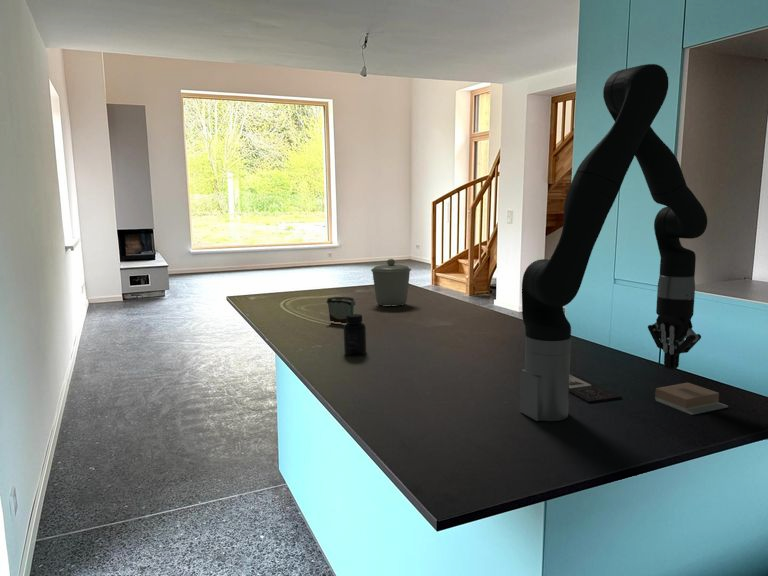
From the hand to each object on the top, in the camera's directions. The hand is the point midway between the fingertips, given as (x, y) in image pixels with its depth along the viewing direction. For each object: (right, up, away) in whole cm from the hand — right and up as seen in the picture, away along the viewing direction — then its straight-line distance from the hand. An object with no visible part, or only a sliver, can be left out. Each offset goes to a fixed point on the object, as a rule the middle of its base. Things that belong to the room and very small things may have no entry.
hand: (671, 368), depth 128 cm
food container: (-82, +5, +86) cm, 119 cm away
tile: (0, -5, 0) cm, 5 cm away
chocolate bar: (-18, -7, +7) cm, 21 cm away
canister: (-63, +11, +123) cm, 138 cm away
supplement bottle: (-75, -2, +43) cm, 87 cm away
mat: (+2, -7, -4) cm, 9 cm away
